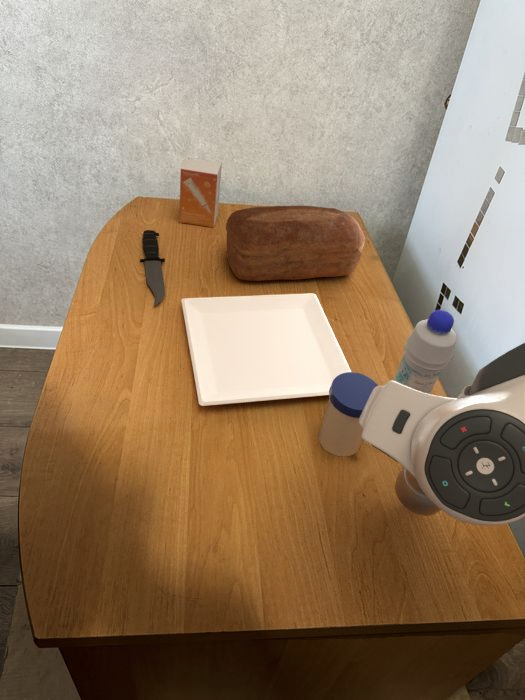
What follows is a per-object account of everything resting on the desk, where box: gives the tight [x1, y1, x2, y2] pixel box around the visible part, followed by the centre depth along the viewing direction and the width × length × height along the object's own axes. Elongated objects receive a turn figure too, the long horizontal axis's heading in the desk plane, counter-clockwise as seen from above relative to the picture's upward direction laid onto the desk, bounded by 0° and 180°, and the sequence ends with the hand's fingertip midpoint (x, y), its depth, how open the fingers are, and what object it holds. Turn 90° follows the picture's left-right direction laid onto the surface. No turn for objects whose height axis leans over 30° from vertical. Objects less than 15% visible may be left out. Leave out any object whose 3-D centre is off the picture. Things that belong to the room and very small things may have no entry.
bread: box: [225, 205, 366, 282], centre depth 109 cm, size 14×28×12 cm, turn 105°
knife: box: [139, 229, 166, 307], centre depth 105 cm, size 25×2×5 cm
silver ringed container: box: [394, 384, 472, 517], centre depth 61 cm, size 6×7×20 cm
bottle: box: [392, 309, 458, 394], centre depth 80 cm, size 7×7×20 cm
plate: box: [180, 292, 352, 407], centre depth 92 cm, size 26×26×2 cm
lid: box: [328, 371, 379, 418], centre depth 73 cm, size 7×7×2 cm
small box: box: [178, 156, 223, 229], centre depth 118 cm, size 8×6×13 cm
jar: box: [317, 396, 364, 457], centre depth 77 cm, size 7×7×10 cm
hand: (450, 444), depth 61 cm, fingers closed on silver ringed container, 6 cm apart
